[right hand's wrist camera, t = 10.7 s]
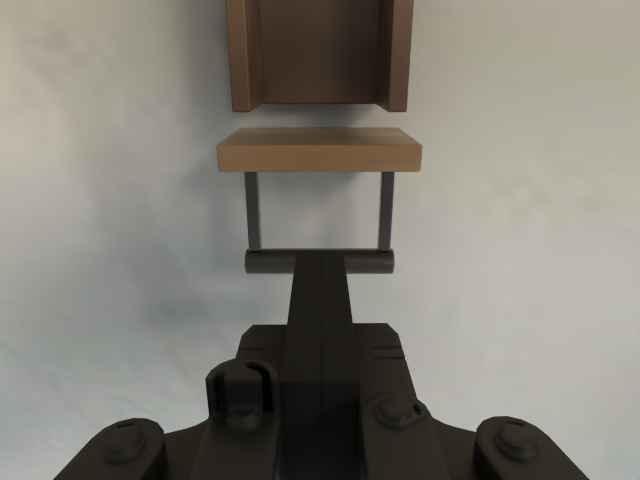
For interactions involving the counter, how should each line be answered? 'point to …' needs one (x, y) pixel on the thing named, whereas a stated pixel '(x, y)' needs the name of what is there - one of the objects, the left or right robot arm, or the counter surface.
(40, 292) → the counter surface
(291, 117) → the counter surface
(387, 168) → the drawer
